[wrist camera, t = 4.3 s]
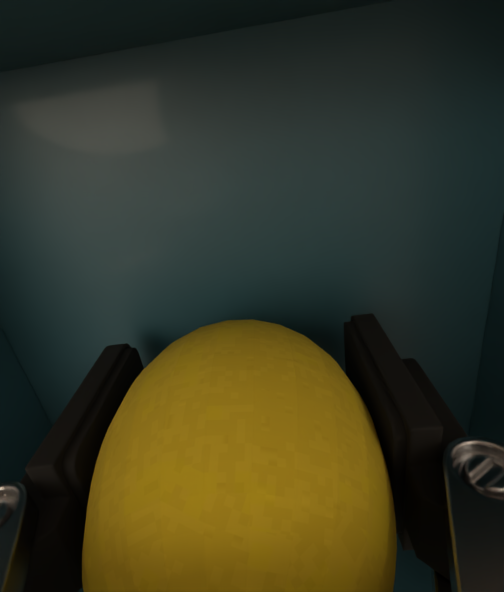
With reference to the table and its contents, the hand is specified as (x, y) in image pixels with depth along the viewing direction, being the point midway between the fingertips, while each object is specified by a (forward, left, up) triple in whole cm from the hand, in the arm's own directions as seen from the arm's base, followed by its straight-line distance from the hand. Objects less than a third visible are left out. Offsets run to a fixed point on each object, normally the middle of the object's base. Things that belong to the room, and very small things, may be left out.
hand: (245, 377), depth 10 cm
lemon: (0, 0, -1) cm, 1 cm away
